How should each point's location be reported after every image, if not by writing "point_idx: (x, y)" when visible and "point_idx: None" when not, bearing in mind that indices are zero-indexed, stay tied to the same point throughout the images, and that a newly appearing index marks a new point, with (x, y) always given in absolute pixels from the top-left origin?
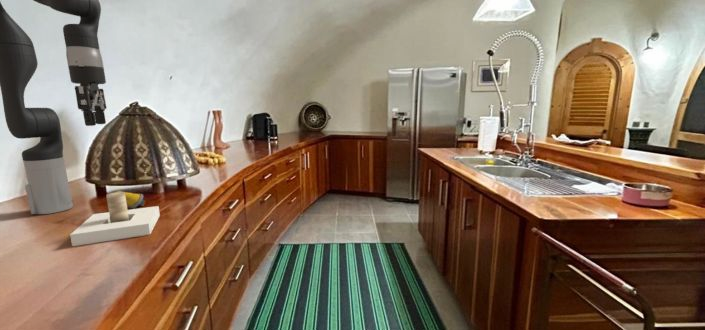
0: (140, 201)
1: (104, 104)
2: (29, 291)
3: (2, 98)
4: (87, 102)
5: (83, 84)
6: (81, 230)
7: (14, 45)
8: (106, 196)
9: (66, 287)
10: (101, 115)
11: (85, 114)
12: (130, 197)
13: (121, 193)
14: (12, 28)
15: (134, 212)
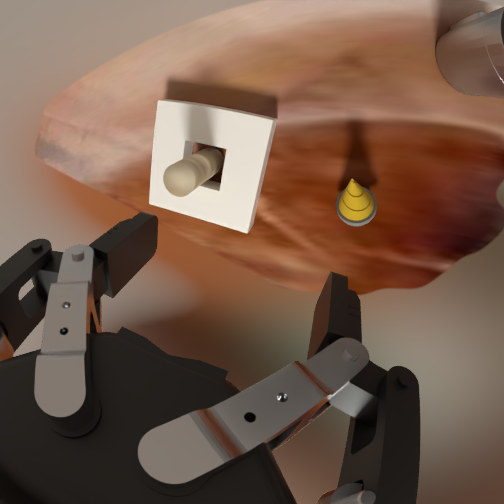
0: (337, 212)
1: (348, 431)
2: (76, 96)
3: None
4: (23, 301)
5: None
6: (169, 112)
7: None
8: (176, 162)
9: (70, 125)
10: (313, 337)
11: (93, 248)
12: (344, 199)
13: (176, 190)
14: None
15: (228, 190)
